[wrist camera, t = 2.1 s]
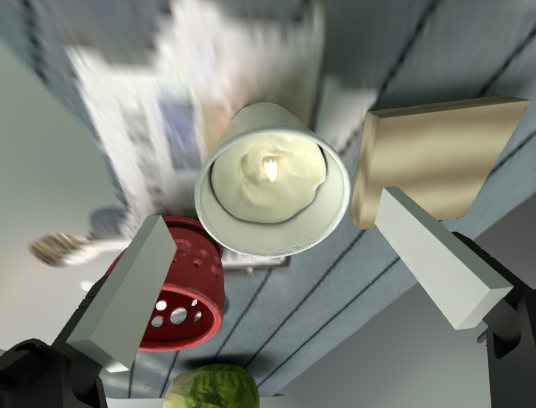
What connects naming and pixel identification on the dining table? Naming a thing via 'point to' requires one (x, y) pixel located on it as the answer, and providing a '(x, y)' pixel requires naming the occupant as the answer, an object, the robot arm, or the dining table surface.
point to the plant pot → (187, 289)
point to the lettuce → (213, 388)
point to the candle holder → (271, 185)
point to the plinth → (432, 154)
